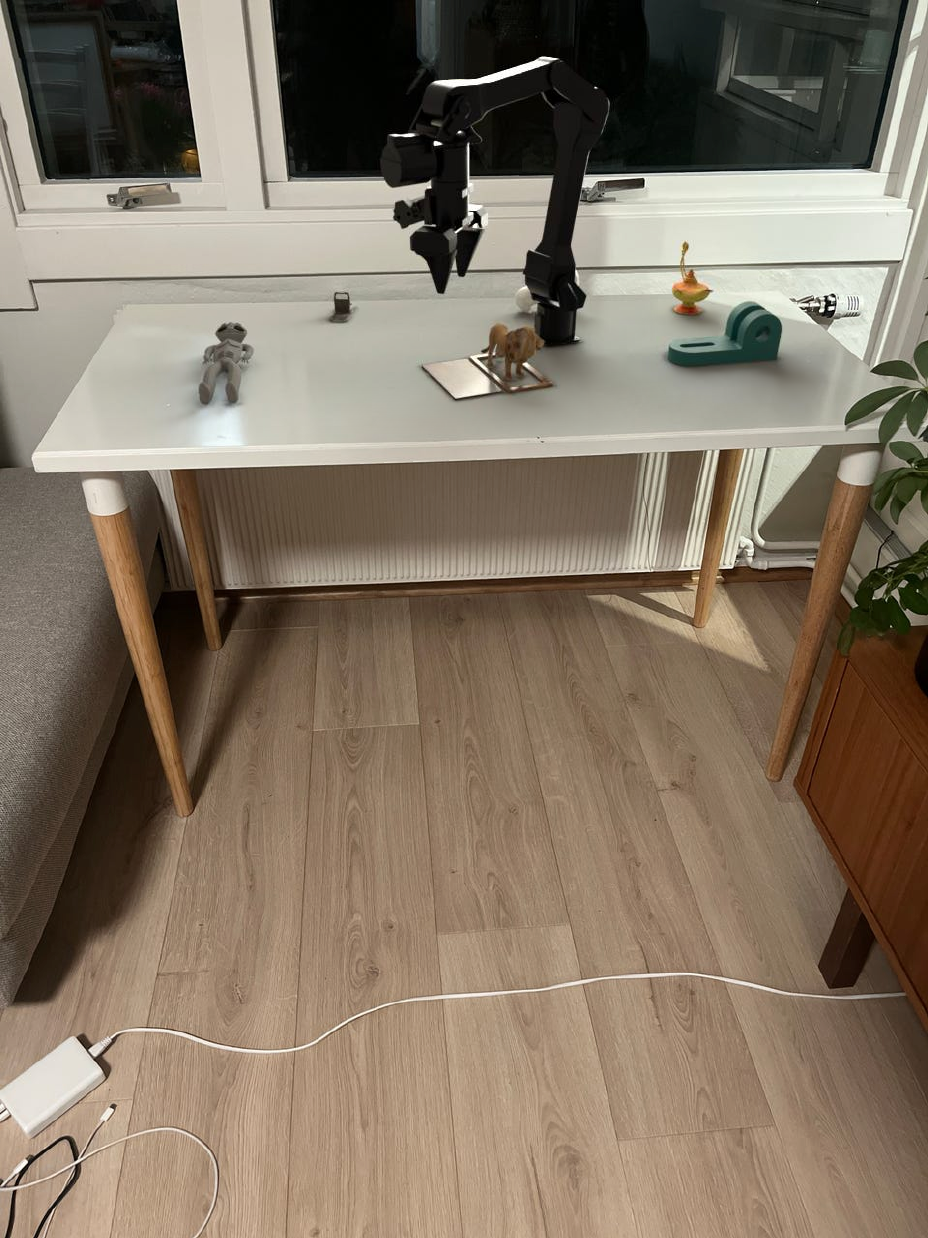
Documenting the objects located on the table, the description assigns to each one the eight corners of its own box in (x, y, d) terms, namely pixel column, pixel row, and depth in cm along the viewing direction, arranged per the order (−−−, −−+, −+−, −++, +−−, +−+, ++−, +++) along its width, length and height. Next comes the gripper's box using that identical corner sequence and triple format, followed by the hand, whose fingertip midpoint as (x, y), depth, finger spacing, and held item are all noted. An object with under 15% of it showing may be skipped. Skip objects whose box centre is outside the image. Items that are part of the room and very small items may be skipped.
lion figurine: (545, 382, 155) (550, 328, 149) (518, 389, 152) (522, 334, 147) (493, 351, 164) (495, 299, 159) (467, 358, 162) (469, 304, 156)
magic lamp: (686, 329, 175) (695, 267, 168) (659, 298, 189) (666, 240, 183) (723, 328, 175) (733, 266, 169) (693, 297, 190) (701, 239, 183)
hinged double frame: (511, 352, 165) (511, 349, 165) (552, 385, 153) (552, 383, 153) (420, 365, 160) (420, 363, 160) (456, 401, 148) (456, 398, 148)
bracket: (758, 345, 168) (767, 299, 164) (776, 358, 163) (785, 312, 158) (661, 352, 165) (667, 306, 161) (676, 367, 160) (682, 319, 155)
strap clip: (339, 307, 185) (338, 284, 183) (355, 307, 185) (353, 284, 182) (330, 321, 178) (328, 298, 176) (346, 322, 178) (344, 298, 175)
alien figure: (187, 381, 144) (207, 319, 164) (193, 411, 147) (212, 346, 167) (242, 379, 145) (255, 318, 164) (246, 409, 148) (258, 345, 167)
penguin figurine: (580, 268, 175) (514, 275, 176) (581, 315, 180) (517, 321, 181) (576, 258, 180) (512, 265, 181) (577, 304, 185) (515, 310, 186)
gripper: (423, 162, 153) (426, 263, 162) (374, 188, 139) (380, 297, 148) (489, 167, 150) (488, 270, 159) (446, 193, 135) (448, 304, 145)
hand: (451, 284), depth 153 cm, fingers open, 9 cm apart
